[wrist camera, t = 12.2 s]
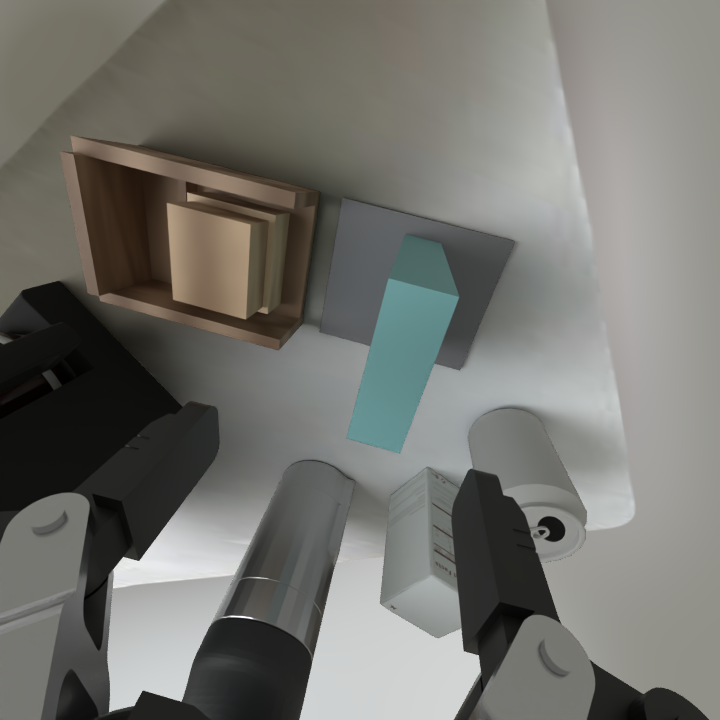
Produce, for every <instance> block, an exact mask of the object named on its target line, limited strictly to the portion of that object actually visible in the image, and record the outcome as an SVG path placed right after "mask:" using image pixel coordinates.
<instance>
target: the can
mask: <svg viewBox="0 0 720 720" xmlns="http://www.w3.org/2000/svg"><path fill="white" fill-rule="evenodd" d="M468 442H469V448H470V454H471V459H472V465H473V469H475V470H479V471H483V472H487V473H491V474H496V475H497V476H498V478H499V480H500V484H501V488H502V491H503V495H505V496H509V497H513V498H514V500H515V501H516V502H517V504H518V505H519V507H520V508H521V510H522V511H523V512H524V514H525V516H526V519H527V522H528V525H529V528H530V531H531V537H533V540H534V544H535V547H536V553H538V556H539V559H540V562H551V561H557V560H561V559H563V558H566V557H568V556H571V555H572V554H574V553H575V552H576V551H577V550H578V549H580V548H581V546H582V544H583V543H584V541H585V539H586V530H585V528H584V526H585V524H586V522H587V511H586V509H585V507H584V505H583V503H582V501H581V499H580V497H579V495H578V493H577V491H576V489H575V487H574V486H573V484H572V482H571V480H570V478H569V476H568V474H567V472H566V470H565V468H564V466H563V464H562V462H561V460H560V458H559V456H558V454H557V452H556V450H555V448H554V446H553V444H552V442H551V440H550V438H549V436H548V435H547V433H546V431H545V429H544V427H543V425H542V423H541V421H540V420H538V419H537V418H536V417H535V416H534V415H533V414H530V413H528V412H525V411H523V410H518V409H510V408H508V409H499V410H495V411H492V412H489V413H487V414H484V415H483V416H482V417H480V418H479V419H478V420H476V421H475V423H474V424H473V425H472V427H471V428H470V431H469V435H468Z"/></svg>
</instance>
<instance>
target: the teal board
mask: <svg viewBox="0 0 720 720" xmlns="http://www.w3.org/2000/svg"><path fill="white" fill-rule="evenodd" d="M458 299H459V294H458V291H457V289H456V286H455V283H454V280H453V277H452V274H451V271H450V268H449V265H448V262H447V259H446V256H445V253H444V250H443V247H442V244H441V243H438V242H434V241H430V240H426V239H422V238H419V237H415V236H411V235H407V234H405V236H404V238H403V241H402V244H401V246H400V249H399V252H398V254H397V257H396V260H395V262H394V265H393V268H392V270H391V273H390V276H389V279H388V282H387V286H386V290H385V294H384V298H383V301H382V305H381V309H380V313H379V316H378V320H377V324H376V328H375V332H374V335H373V339H372V343H371V347H370V351H369V354H368V358H367V362H366V366H365V370H364V373H363V377H362V381H361V385H360V389H359V392H358V396H357V400H356V404H355V408H354V411H353V415H352V419H351V423H350V427H349V430H348V434H347V439H351V440H354V441H358V442H361V443H365V444H368V445H372V446H375V447H379V448H382V449H386V450H389V451H393V452H396V453H400V451H401V449H402V446H403V444H404V441H405V438H406V436H407V433H408V430H409V428H410V425H411V423H412V420H413V417H414V415H415V412H416V409H417V407H418V404H419V402H420V399H421V396H422V394H423V391H424V389H425V386H426V383H427V381H428V378H429V375H430V373H431V370H432V368H433V365H434V362H435V360H436V357H437V354H438V352H439V349H440V347H441V344H442V341H443V339H444V336H445V333H446V331H447V328H448V326H449V323H450V320H451V318H452V315H453V312H454V310H455V307H456V305H457V302H458Z"/></svg>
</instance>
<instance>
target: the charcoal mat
mask: <svg viewBox="0 0 720 720" xmlns="http://www.w3.org/2000/svg"><path fill="white" fill-rule="evenodd" d="M405 234H407V235H411V236H415V237H419V238H422V239H426V240H430V241H434V242H438V243H441V244H442V247H443V250H444V253H445V256H446V259H447V262H448V265H449V268H450V271H451V274H452V277H453V280H454V283H455V286H456V289H457V291H458V294H459V299H458V302H457V305H456V307H455V310H454V312H453V315H452V318H451V320H450V323H449V326H448V328H447V331H446V333H445V336H444V339H443V341H442V344H441V347H440V349H439V352H438V354H437V357H436V360H435V362H434V363H435V364H439V365H442V366H446V367H450V368H453V369H457V370H460V369H461V367H462V364H463V362H464V360H465V357H466V355H467V353H468V350H469V348H470V346H471V343H472V341H473V339H474V336H475V334H476V332H477V329H478V327H479V325H480V322H481V320H482V318H483V315H484V313H485V311H486V308H487V306H488V304H489V301H490V299H491V297H492V294H493V292H494V290H495V287H496V285H497V283H498V280H499V278H500V276H501V273H502V271H503V269H504V266H505V264H506V262H507V259H508V257H509V255H510V252H511V250H512V248H513V245H514V243H515V241H513V240H509V239H505V238H501V237H497V236H493V235H489V234H485V233H481V232H477V231H473V230H469V229H465V228H461V227H457V226H453V225H450V224H446V223H442V222H438V221H434V220H430V219H426V218H422V217H418V216H414V215H410V214H406V213H402V212H398V211H394V210H390V209H386V208H382V207H378V206H374V205H371V204H367V203H363V202H359V201H355V200H351V199H347V198H342V203H341V209H340V214H339V220H338V226H337V232H336V238H335V244H334V250H333V255H332V261H331V267H330V273H329V279H328V285H327V290H326V296H325V302H324V308H323V314H322V320H321V326H320V331H319V332H321V333H325V334H329V335H332V336H336V337H340V338H343V339H347V340H351V341H354V342H358V343H362V344H365V345H369V346H371V343H372V339H373V335H374V332H375V328H376V324H377V320H378V316H379V313H380V309H381V305H382V301H383V298H384V294H385V290H386V286H387V282H388V279H389V276H390V273H391V270H392V268H393V265H394V262H395V260H396V257H397V254H398V252H399V249H400V246H401V244H402V241H403V238H404V236H405Z"/></svg>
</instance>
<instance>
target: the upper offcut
mask: <svg viewBox="0 0 720 720" xmlns="http://www.w3.org/2000/svg"><path fill="white" fill-rule="evenodd" d="M167 215H168V230H169V245H170V260H171V275H172V290H173V300H176V301H180V302H184V303H187V304H191V305H195V306H198V307H202V308H206V309H209V310H213V311H217V312H220V313H224V314H228V315H231V316H235V317H238V318H242V319H247V318H249V317H250V316H251V315H253V314H254V313H255V312H257V311H258V310H259V309H261V308H262V306H263V293H264V279H265V266H266V252H267V239H268V225H269V221H268V220H264V219H260V218H256V217H252V216H249V215H245V214H241V213H237V212H233V211H229V210H225V209H221V208H218V207H214V206H210V205H206V204H202V203H198V202H194V201H190V202H172V203H167Z"/></svg>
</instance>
